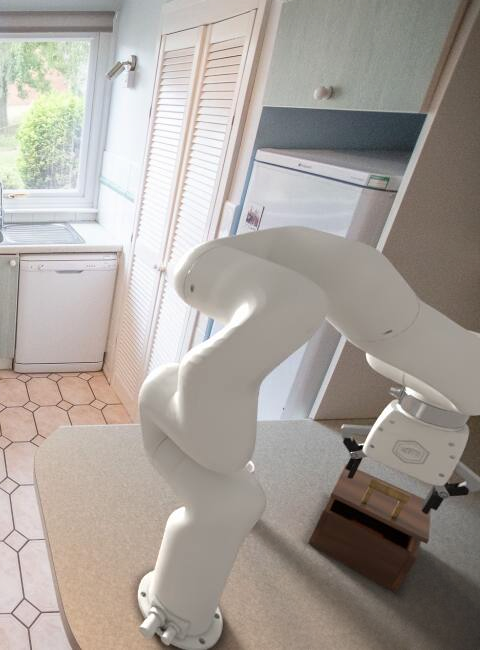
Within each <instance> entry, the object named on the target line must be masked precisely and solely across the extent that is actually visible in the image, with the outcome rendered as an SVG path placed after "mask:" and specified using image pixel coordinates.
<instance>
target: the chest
mask: <svg viewBox="0 0 480 650" xmlns="http://www.w3.org/2000/svg"><path fill="white" fill-rule="evenodd" d="M352 519H353V520H355V521H357V522H358V523H360V524H362V525H364V526H366V527H368V528H370V529H372V530H374V531H376V532H378V533H380V534H382V535H383V536H382V537H381V536H379V535H377V534H375V533H373V532H371V531H369V530H367V529H365V528H363V527H361V526H359V525H358V524H356V523H354V522H352V521H351V520H352ZM307 544H309V545H310V546H311V547H314V548H315V549H317V550H319V551H321V552H323V553H324V554H326V555H328V556H330V558H333V559H335V560H337V561H338V562H340V563H341V564H344V565H345V566H347V567H349V568H351V569H353V571H356V572H358V573H359V574H361V575H363V576H365V577H367V578H369V579H370V580H372V581H374V582H375V583H376V584H379V585H381V586H383V587H384V588H386V589H388V590H389V591H391V592H393V593H396V592H397V591H398V589H399V587H400V586H401V584H402V583H403V582H404V580H405V578H406V576H407V575H408V573H409V572H410V570H411V569H412V567H413V565H414V564H415V563H416V561H417V559H418V556H419V552H420V547H421V544H422V541H420V540H418V539H416V538H414V537H411V536H409V535H407V534H405V533H403V532H401V531H399V530H397V529H395V528H393V527H391V526H389V525H387V524H385V523H383V522H381V521H379V520H377V519H375V518H373V517H371V516H369V515H367V514H365V513H363V512H361V511H359V510H357V509H355V508H353V507H351V506H349V505H347V504H345V503H343V502H341V501H339V500H336V499H334V498H332V497H330V496H329V497H328V500H327V502H326V504H325V506H324V508H323V510H322V512H321V514H320V517H319V518H318V521H317V523H316V525H315V527H314V529H313V532H312V533H311V536H310V537H309V540H308V542H307Z"/></svg>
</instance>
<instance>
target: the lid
mask: <svg viewBox="0 0 480 650" xmlns="http://www.w3.org/2000/svg"><path fill="white" fill-rule="evenodd" d="M347 464H348V463H345V465H344V467H343V469H342V471H341V473H340V475H339V477H338V478H337V480H336V483H335V485H334V487H333V489H332V491H331V493H330V496H329V498H330V497H332V498H334V499H336V500H339V501H341V502H343V503H345V504H347V505H349V506H351V507H353V508H355V509H357V510H359V511H361V512H363V513H365V514H367V515H369V516H371V517H373V518H375V519H377V520H379V521H381V522H383V523H385V524H387V525H389V526H391V527H393V528H395V529H397V530H399V531H401V532H403V533H405V534H407V535H409V536H411V537H414V538H416V539H418V540H420V541H421V543H424V544H426V545H427V544H428V543H429V540H430V526H431V511H432V509H431V510H430V511H429V513H428V514H425V513H423V512H422V507H423V503H424V501H425V499H426V498H423V497H422V496H419V495H417V494H415V493H412V492H410V491H407V490H406V489H403V488H401V487H398V486H396V485H394V484H392V483H389V482H387V481H385V480H383V479H380V478H378V477H376V476H374V475H372V474H370V473H367V472H365V471H363V470H360V469H357V471H356V473H355V475H354V477H353V479H352V478H351V479H350V478H348V477H347V476H348V474H349V472H350V471H349V470H346V469H345V468H346V466H347Z"/></svg>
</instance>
